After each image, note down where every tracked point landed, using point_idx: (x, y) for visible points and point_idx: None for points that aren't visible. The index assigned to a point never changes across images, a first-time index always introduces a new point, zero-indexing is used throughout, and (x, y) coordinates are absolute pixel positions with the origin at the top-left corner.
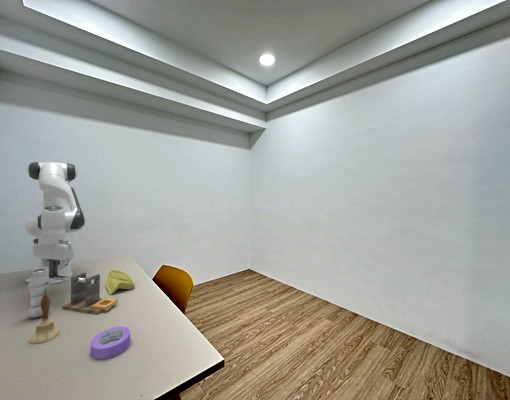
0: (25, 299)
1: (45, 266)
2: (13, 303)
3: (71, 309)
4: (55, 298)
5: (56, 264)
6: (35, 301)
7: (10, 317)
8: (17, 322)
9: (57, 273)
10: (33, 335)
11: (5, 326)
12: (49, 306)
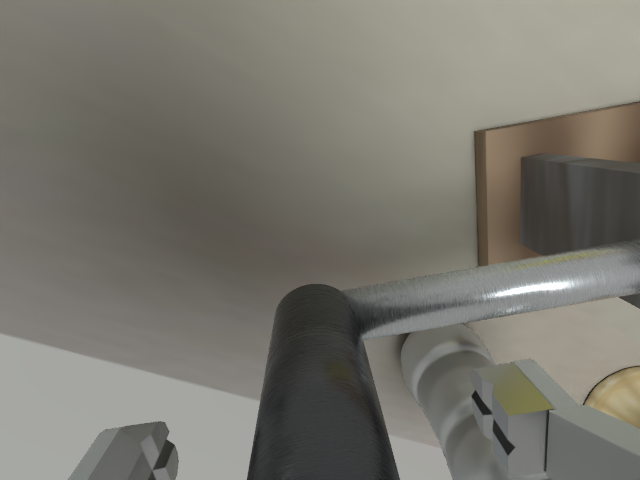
0: (133, 292)
1: (174, 466)
2: (142, 340)
3: None
4: (287, 208)
5: (389, 449)
6: None
7: None
8: (404, 405)
9: (349, 314)
10: None
11: (394, 433)
12: (480, 341)
